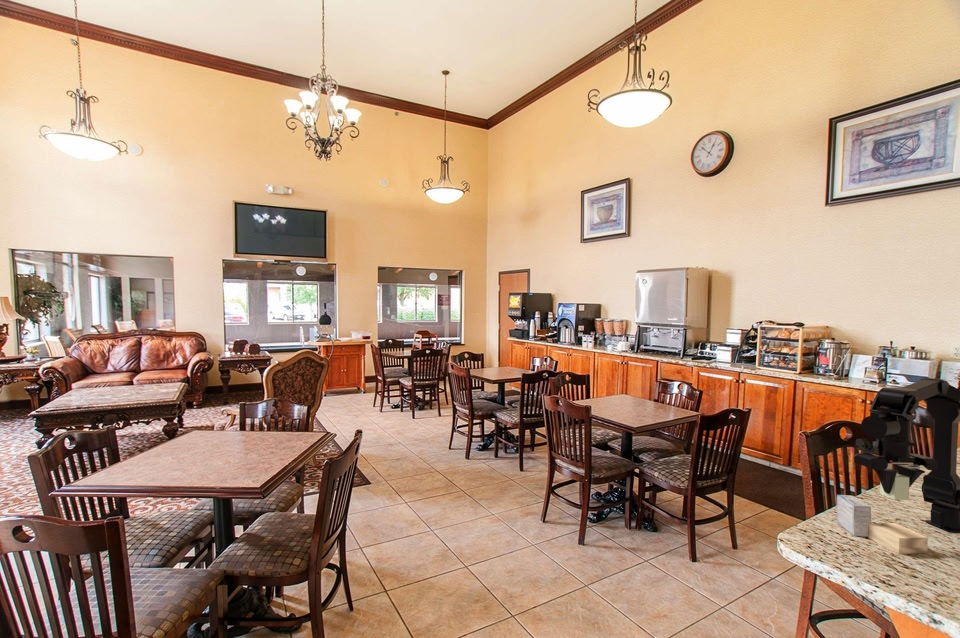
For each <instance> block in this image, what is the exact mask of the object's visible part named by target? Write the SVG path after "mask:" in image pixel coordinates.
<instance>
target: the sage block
mask: <svg viewBox="0 0 960 638" xmlns="http://www.w3.org/2000/svg"><path fill="white" fill-rule="evenodd" d="M879 484H880V485H879V495H882V496H884V497H887V498H889V499H892V500H894V501H900V500H901V501H910V488H909V477H907V476H904V475H901V474H898V472H897V474H896V477H895V480H894V483H893V487H892V490H891V492H890V494H887V493H885V492H884V490H883V487H882V485H881V482H880V481H879Z"/></svg>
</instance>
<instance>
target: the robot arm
mask: <svg viewBox="0 0 960 638" xmlns="http://www.w3.org/2000/svg"><path fill="white" fill-rule="evenodd" d="M922 401H923V402H924V404H925V405H926V412H927V413H928V414H929V416H930V417H931V418H932V420H933V441H932V442H933V446H932V447H933V448H932V449H933V450H932V457H929V456H927V455H922V454H919V453H911V450H912V449H911V447H916V442H915V441H911V440H912V439H911V438H912V437H911V436H912V435H911V434H912V420H913V419H915V417H914V413H915V411H916V410H917V409H918V408H919V407H920V405H919V404H920V402H922ZM869 407H870V408H869V416H865V418H863V419H862V420H861V422H860V428H861V431H862V432H863V433H864V434H865V435H866V436H868V437H869V438H872V439H875V441H868V439H867V438H856V440H855V447H856V449H857V451H861V452H857V453H856V454H854V456H853V457H854V458H853V463H854V464H857V465H860V466H863V467H865V468H867V469H871V470H873V471H874V472H875V473H876V475H877V478H878V479H879V483H880V482H881V485H882V487H883V490H884V492H885V493H887V494H890V492H891V490H892V487H893V483H894V480H895V477H896V474H897V473H898V474H901V475H904V476H907V477H909V489H910V488H911V486H912V485H913V484H914V483H916V482H915V481H917V479H918V478H919V477H921V476H922V474H925V473H926V471H925V470H923V469H920V467H921V466H922V467H924V468H925V469H926V470H928V471H929V472H928V473H927V474H925V475H923V477H922V479H923V480H922V484H921V494H922V498H923V501H924V502H925V503H931V509H930V519H928V520H927V519H926V520H925V523H927V524H929V525H932V526H934V527H936V528H939V529H941V530H944V531H945V532H948V533H960V476H959V475H958V474H957V473H958V472H957V465H958V463H957V462H958V461H957V460H958V459H957V458H958V434H959V433H958V432H959V431H958V429H959V423H960V389H959V388H957V387H955V386H953V385H952V384H950V383H949V381H947V380H945V379H943V378H942V379H941V378H933V377H932V378H931V377H924V378H921V379H920V380H918V381H915V382H911V383H910V384H907V385H905V386H903V387H902V386H901V387H891V386H890V387H889V386H887V387H882V388H880V389H879V390H878V391H877V392H876V395H875V397H874V399H873V401H872V404H871V405H870V406H869ZM893 466H894V468H895V469H896V470H895V469H893Z"/></svg>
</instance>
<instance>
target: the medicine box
mask: <svg viewBox="0 0 960 638" xmlns="http://www.w3.org/2000/svg"><path fill="white" fill-rule="evenodd" d="M836 524H837V525H839V526H840V527H841V528H843V529H844V530H846V531H847V532H848V533H850V534H851V535H853V536H854V537H864V538H869V524H872V506H870V505H869V504H868V503H866V502H864V501H863V500H861V499H859V498H857V497H856V496H854V495H849V494H847V495H845V494H836Z"/></svg>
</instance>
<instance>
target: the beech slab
mask: <svg viewBox="0 0 960 638" xmlns="http://www.w3.org/2000/svg"><path fill="white" fill-rule="evenodd" d="M928 538H929V537H927V536H925V535H923V534H920V533H918V532H917V531H914V530H911V529H909V527H908V528H907V527H905V526H904V525H901V524H900V523H899V524H898V523H896V522H885V523H884V522H883V523H881V522H879V523H876V522H875V523H871V524H869V537H868V539H869V540H871V541H873V542H875V543H877V544H879V545H881V546H883V547H885V548H887V549H889V550H891V551H893V552H895V553H897V554H899V555H902V554H903V555H904V554H928Z"/></svg>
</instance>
